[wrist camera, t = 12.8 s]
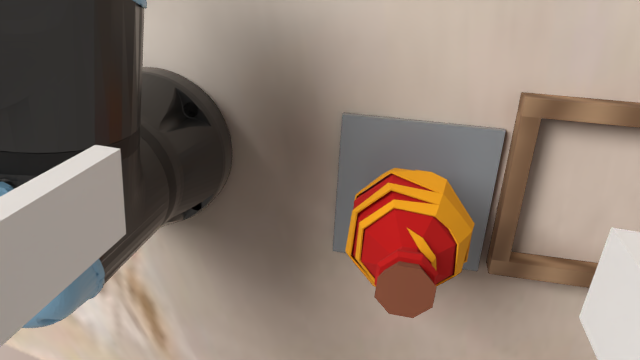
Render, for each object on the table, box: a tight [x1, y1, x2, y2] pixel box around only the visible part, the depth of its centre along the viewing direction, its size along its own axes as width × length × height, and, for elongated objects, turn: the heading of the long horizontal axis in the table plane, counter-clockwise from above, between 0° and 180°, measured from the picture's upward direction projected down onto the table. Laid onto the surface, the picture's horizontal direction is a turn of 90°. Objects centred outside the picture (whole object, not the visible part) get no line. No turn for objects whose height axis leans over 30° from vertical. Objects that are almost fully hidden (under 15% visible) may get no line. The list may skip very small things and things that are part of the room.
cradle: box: [486, 92, 640, 288], centre depth 44 cm, size 16×16×2 cm
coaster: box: [333, 113, 506, 271], centre depth 48 cm, size 14×14×1 cm
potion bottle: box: [345, 168, 475, 318], centre depth 41 cm, size 10×10×15 cm
